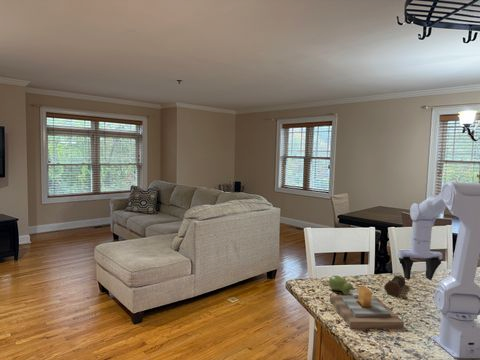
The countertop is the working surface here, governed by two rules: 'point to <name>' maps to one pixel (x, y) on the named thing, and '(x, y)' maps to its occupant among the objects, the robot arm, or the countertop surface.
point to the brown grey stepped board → (365, 312)
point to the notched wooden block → (364, 297)
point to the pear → (340, 285)
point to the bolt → (395, 285)
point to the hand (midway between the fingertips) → (417, 278)
